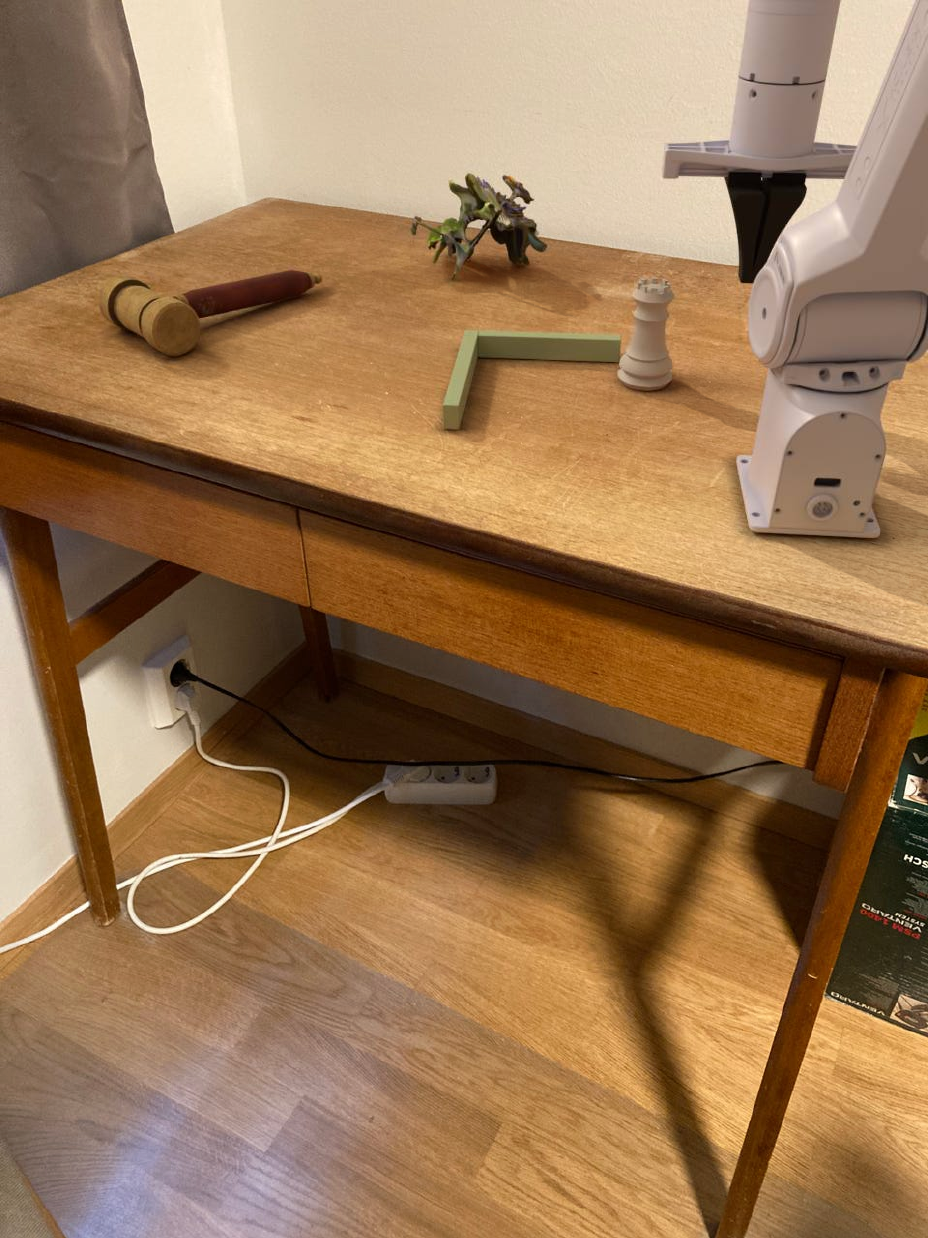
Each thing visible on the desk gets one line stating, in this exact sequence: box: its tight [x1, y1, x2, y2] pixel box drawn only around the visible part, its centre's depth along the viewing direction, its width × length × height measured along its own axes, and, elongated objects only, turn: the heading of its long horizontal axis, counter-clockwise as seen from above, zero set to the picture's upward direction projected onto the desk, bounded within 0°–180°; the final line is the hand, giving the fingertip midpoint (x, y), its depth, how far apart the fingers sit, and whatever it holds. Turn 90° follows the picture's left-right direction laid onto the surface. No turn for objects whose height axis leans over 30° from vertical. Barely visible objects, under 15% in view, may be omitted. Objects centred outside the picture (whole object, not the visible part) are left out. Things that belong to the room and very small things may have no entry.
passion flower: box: [410, 172, 548, 281], centre depth 100 cm, size 11×11×12 cm
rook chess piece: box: [617, 276, 675, 392], centre depth 79 cm, size 4×4×8 cm
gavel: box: [97, 269, 323, 357], centre depth 93 cm, size 21×5×10 cm
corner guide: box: [442, 329, 622, 431], centre depth 80 cm, size 15×13×2 cm
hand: (748, 278), depth 76 cm, fingers closed
